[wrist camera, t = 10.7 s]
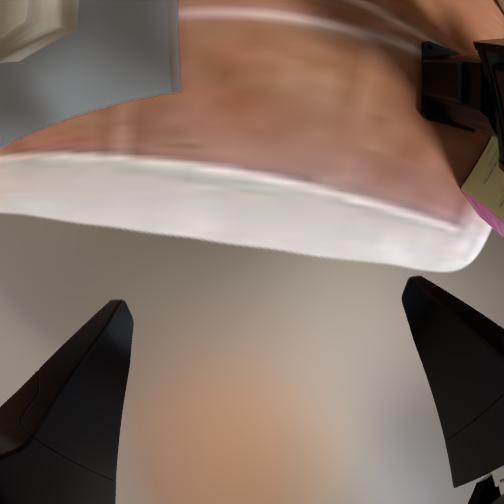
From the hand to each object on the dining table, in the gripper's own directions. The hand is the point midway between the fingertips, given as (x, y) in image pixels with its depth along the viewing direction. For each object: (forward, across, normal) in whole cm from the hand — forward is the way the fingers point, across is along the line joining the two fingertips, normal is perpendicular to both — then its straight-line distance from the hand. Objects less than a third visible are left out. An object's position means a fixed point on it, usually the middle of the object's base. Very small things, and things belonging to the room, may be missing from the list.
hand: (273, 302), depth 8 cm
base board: (+12, +12, -14) cm, 22 cm away
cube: (+9, +12, -14) cm, 20 cm away
